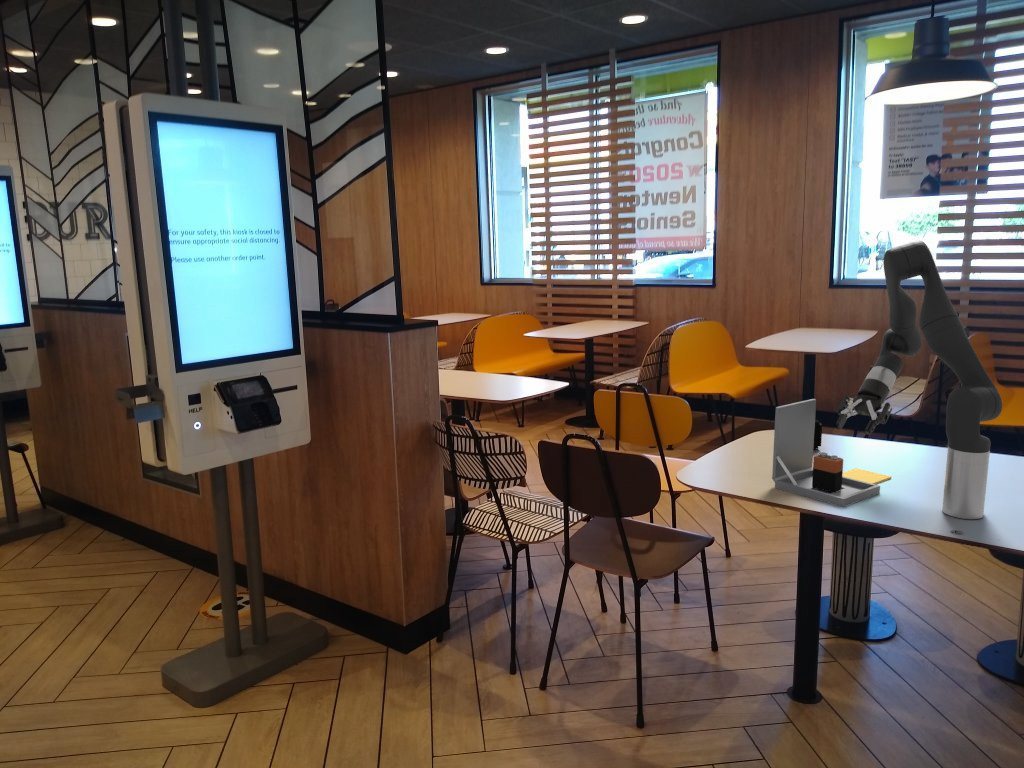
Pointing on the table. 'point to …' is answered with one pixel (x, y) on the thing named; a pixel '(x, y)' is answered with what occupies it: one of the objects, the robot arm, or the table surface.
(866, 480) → the yellow sticky note
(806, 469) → the equipment case
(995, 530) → the table surface
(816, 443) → the cpu cooler
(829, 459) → the battery
